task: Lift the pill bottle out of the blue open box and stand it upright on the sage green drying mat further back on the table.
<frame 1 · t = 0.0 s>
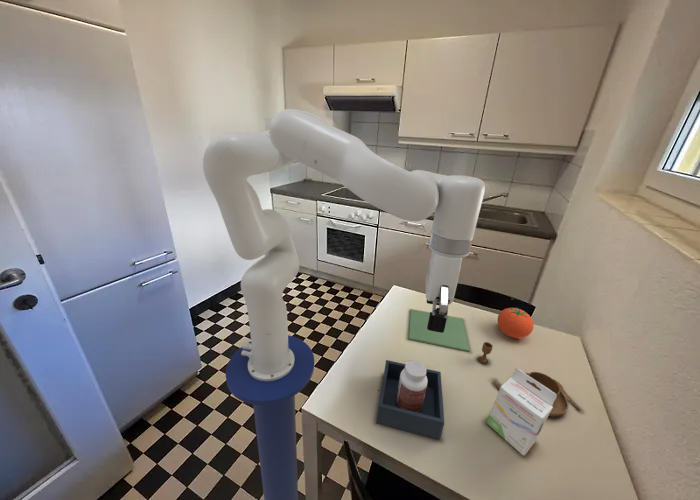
hand: (434, 316, 60), 24 cm above the table, tool pointing down, fingers open, 9 cm apart
place setting: (524, 383, 74), on the table
ink box: (509, 433, 61), on the table
blue open box: (408, 404, 66), on the table
tomato: (510, 334, 93), on the table
drying mat: (437, 329, 93), on the table
pill bottle: (408, 403, 66), resting on blue open box
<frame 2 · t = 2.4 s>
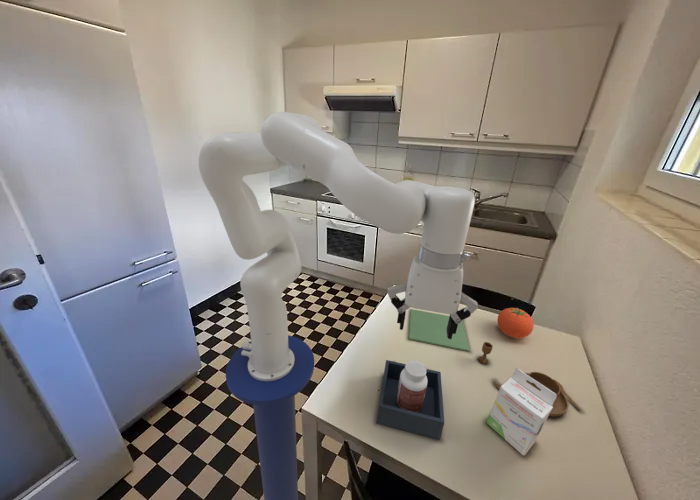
hand: (424, 330, 58), 22 cm above the table, tool pointing down, fingers open, 9 cm apart
nothing on the table moved.
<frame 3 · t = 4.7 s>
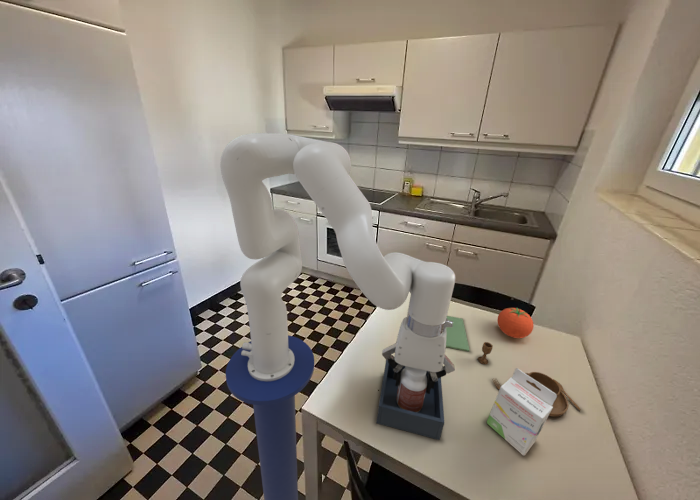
hand: (412, 384, 64), 7 cm above the table, tool pointing down, fingers closed on pill bottle, 6 cm apart
pill bottle: (408, 403, 66), resting on blue open box, touching gripper
everything else where it was.
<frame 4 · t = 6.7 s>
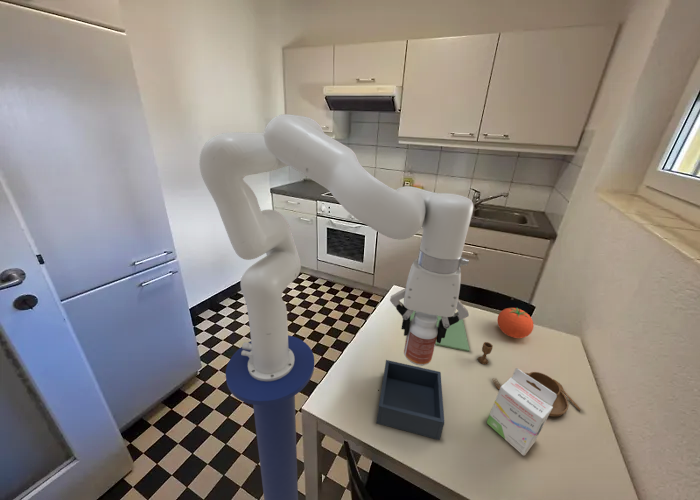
hand: (421, 334, 60), 20 cm above the table, tool pointing down, fingers closed on pill bottle, 6 cm apart
pill bottle: (417, 356, 62), point 14 cm above the table, touching gripper
everything else where it was.
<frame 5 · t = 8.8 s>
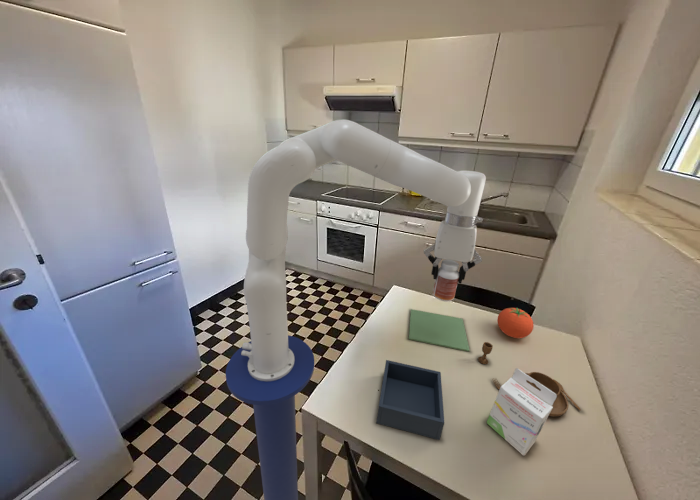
hand: (446, 278, 80), 21 cm above the table, tool pointing down, fingers closed on pill bottle, 6 cm apart
pill bottle: (442, 296, 83), point 15 cm above the table, touching gripper
everything else where it was.
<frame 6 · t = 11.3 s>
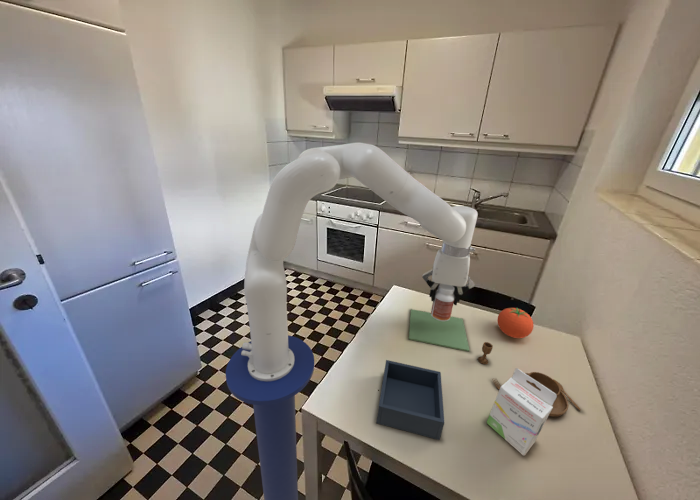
hand: (443, 300, 88), 11 cm above the table, tool pointing down, fingers closed on pill bottle, 6 cm apart
pill bottle: (439, 316, 91), point 5 cm above the table, touching gripper
everything else where it was.
when the fingers open (7 cm above the table, at t = 13.0 s): pill bottle stays where it is, resting on drying mat.
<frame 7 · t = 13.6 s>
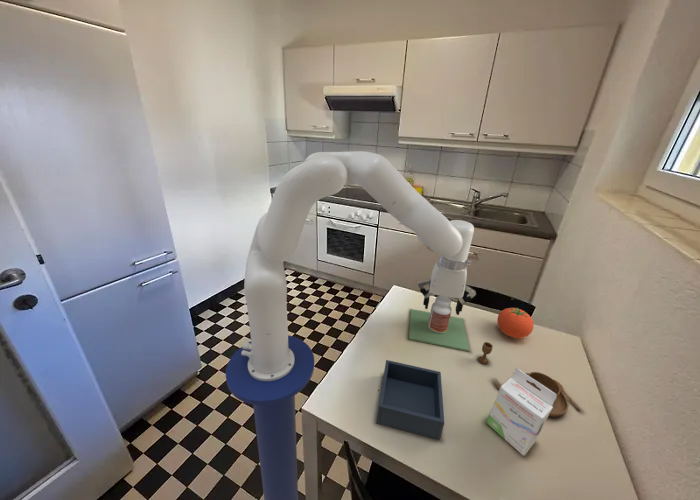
hand: (441, 309, 90), 8 cm above the table, tool pointing down, fingers open, 9 cm apart
pill bottle: (437, 328, 92), resting on drying mat
everything else where it was.
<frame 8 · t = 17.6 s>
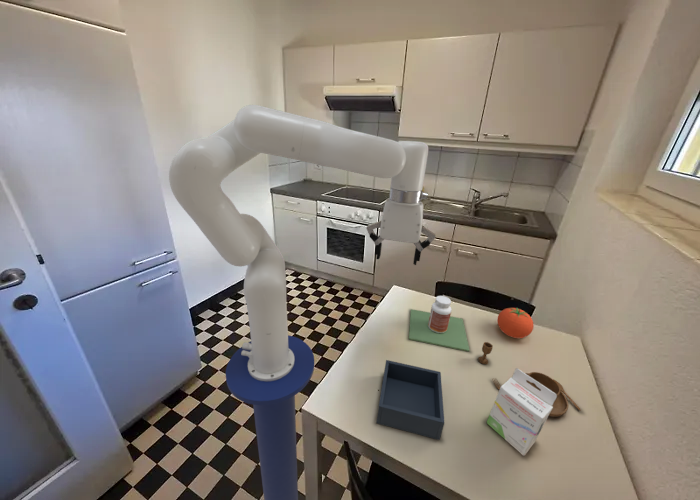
hand: (396, 260, 74), 28 cm above the table, tool pointing down, fingers open, 9 cm apart
nothing on the table moved.
at the end: pill bottle inside the target area on the drying mat (0.1 cm from its centre), point 0.4 cm above the drying mat's base; pill bottle tilted 0°; the gripper is holding nothing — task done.
